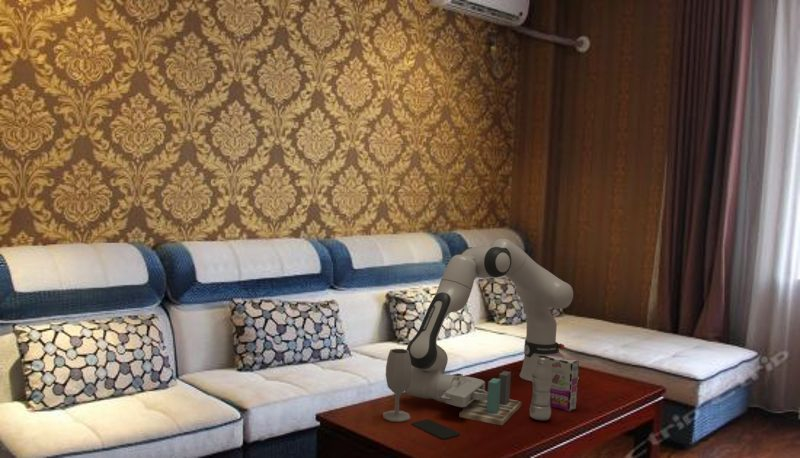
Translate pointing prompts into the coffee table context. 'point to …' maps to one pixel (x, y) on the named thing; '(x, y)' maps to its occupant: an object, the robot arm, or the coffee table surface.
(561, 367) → the candy bar box
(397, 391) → the wineglass
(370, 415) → the coffee table surface
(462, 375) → the robot arm
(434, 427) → the phone
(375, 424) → the coffee table surface
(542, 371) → the plastic bottle
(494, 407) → the upright teal brick
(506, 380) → the grey slab
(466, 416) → the divided base tray
